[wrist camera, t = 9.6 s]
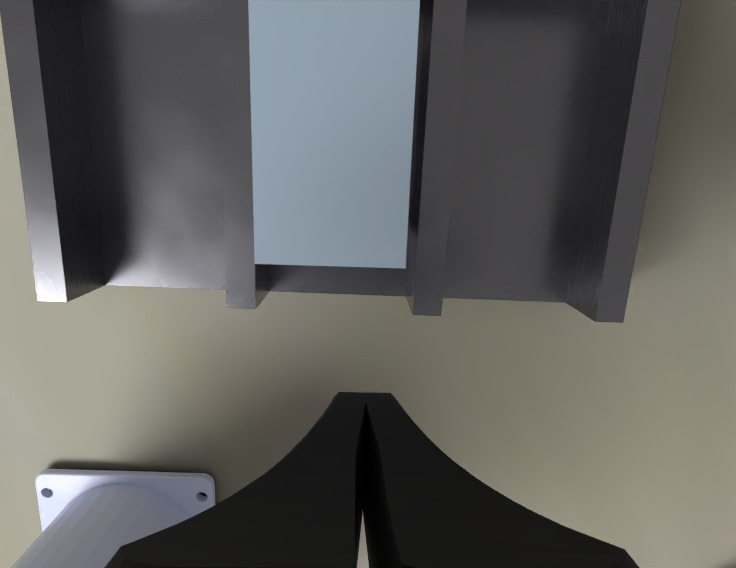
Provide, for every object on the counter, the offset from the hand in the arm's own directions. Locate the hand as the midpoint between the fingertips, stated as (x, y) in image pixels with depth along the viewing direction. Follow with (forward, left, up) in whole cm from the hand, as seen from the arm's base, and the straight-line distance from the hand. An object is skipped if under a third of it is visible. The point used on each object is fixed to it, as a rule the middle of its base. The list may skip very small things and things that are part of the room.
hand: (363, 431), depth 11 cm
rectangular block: (+7, +1, -8) cm, 11 cm away
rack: (+7, +1, -9) cm, 12 cm away
